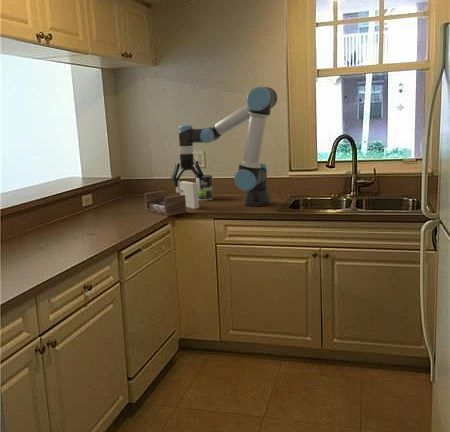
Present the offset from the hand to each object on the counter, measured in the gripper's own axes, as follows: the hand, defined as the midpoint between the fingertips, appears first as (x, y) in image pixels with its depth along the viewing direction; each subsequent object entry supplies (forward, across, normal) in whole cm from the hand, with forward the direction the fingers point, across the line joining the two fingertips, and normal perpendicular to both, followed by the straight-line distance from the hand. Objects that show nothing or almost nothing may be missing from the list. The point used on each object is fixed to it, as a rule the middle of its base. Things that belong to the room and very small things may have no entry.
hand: (188, 191), depth 297 cm
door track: (+9, +16, 0) cm, 18 cm away
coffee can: (+9, -20, -14) cm, 26 cm away
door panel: (+9, 0, 0) cm, 9 cm away
